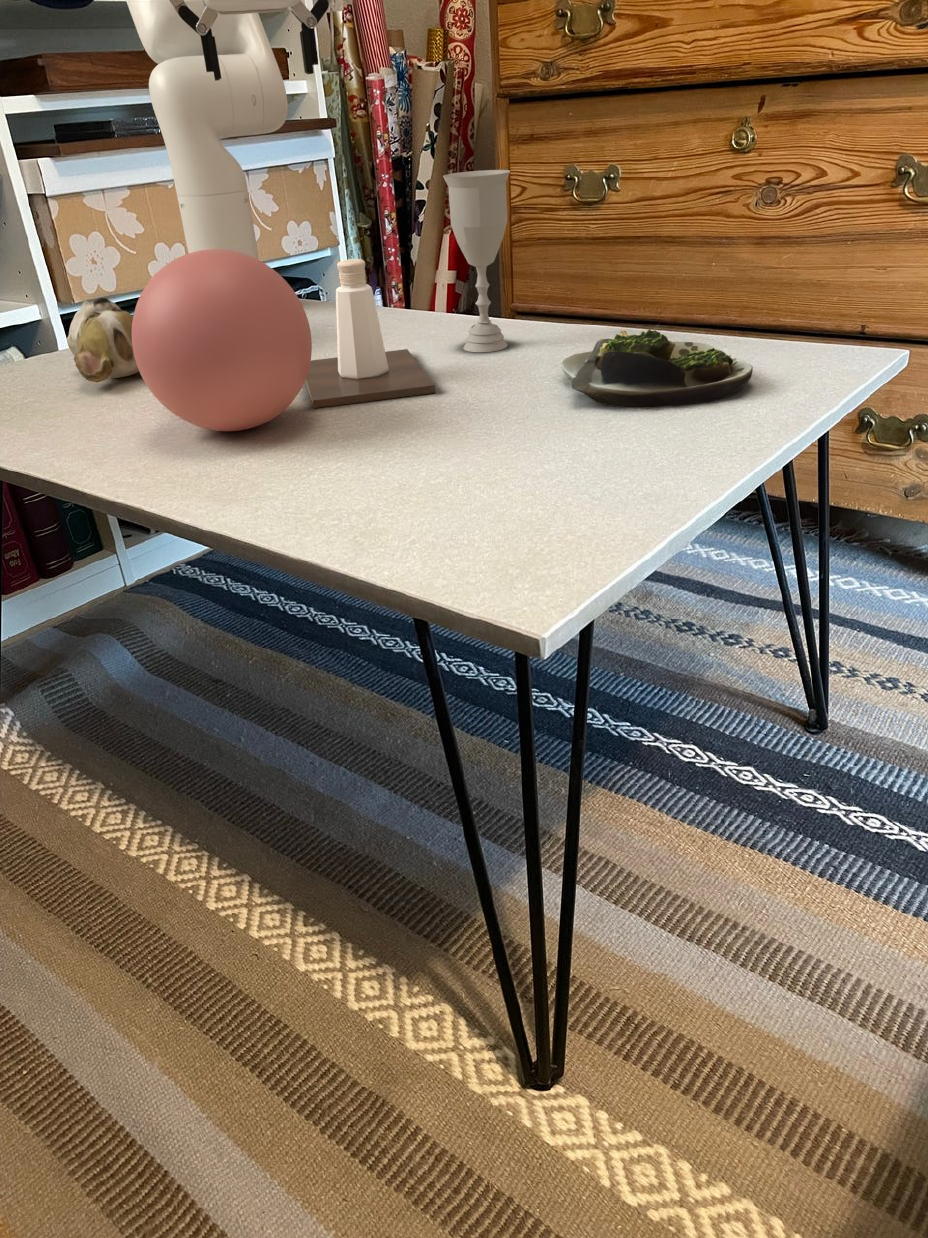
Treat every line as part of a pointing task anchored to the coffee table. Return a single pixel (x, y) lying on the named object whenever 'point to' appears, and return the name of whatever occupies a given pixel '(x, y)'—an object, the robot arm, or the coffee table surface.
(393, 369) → the walnut board
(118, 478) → the coffee table surface
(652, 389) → the salad plate
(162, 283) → the balloon
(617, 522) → the coffee table surface
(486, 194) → the chalice
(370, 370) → the pepper shaker
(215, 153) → the robot arm
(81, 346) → the ceramic sculpture
